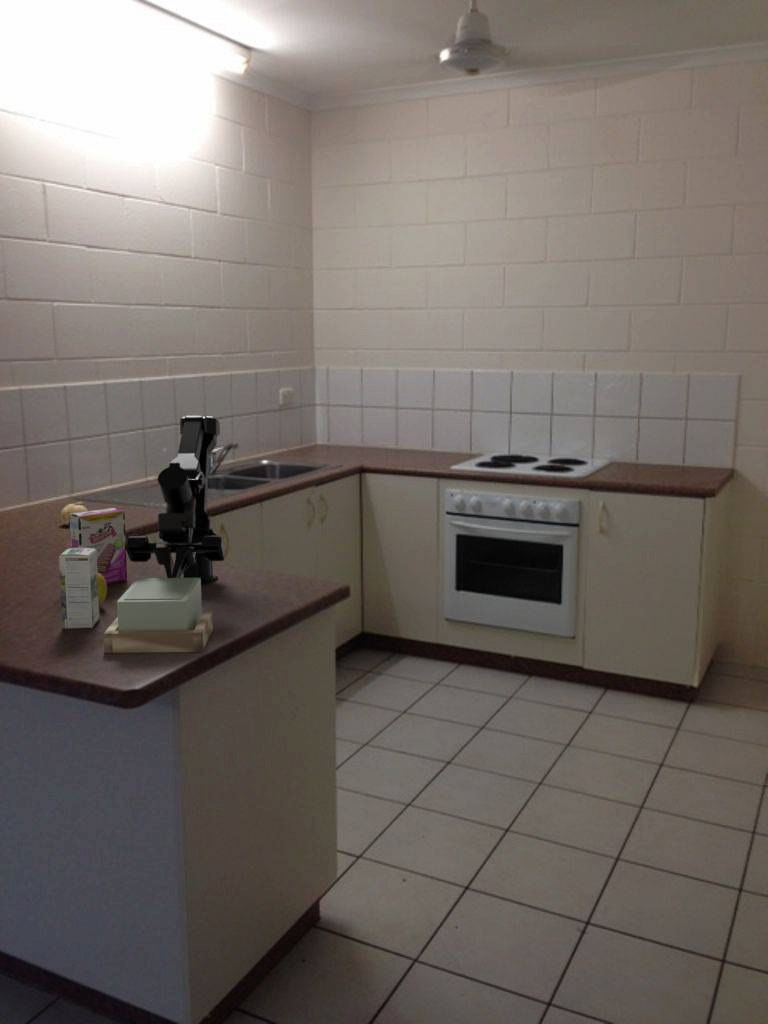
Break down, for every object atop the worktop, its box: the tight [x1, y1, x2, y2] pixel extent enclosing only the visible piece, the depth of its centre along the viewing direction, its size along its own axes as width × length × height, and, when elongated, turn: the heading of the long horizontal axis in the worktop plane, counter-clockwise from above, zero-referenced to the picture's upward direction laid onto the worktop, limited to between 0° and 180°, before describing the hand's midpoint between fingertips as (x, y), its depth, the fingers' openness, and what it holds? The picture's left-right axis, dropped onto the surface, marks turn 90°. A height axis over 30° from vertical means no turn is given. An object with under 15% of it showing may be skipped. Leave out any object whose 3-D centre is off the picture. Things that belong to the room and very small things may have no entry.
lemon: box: [98, 573, 108, 605], centre depth 187 cm, size 6×6×8 cm
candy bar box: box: [69, 507, 128, 585], centre depth 205 cm, size 11×5×16 cm, turn 134°
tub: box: [116, 577, 203, 631], centre depth 170 cm, size 16×12×9 cm
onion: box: [59, 500, 89, 527], centre depth 270 cm, size 8×8×7 cm
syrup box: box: [58, 547, 100, 630], centre depth 175 cm, size 6×6×14 cm
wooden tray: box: [102, 611, 214, 654], centre depth 167 cm, size 12×17×4 cm
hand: (171, 585), depth 177 cm, fingers closed
